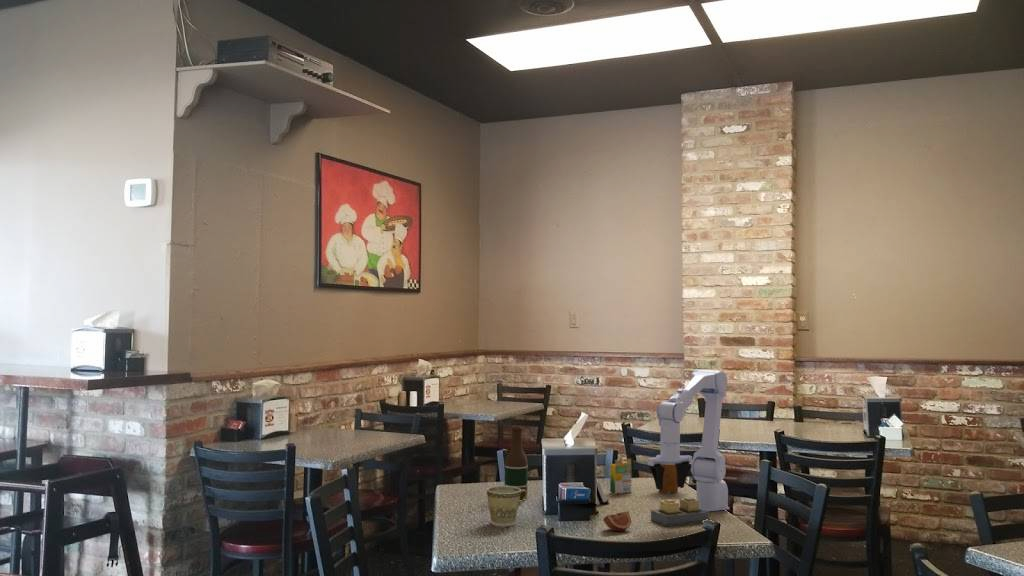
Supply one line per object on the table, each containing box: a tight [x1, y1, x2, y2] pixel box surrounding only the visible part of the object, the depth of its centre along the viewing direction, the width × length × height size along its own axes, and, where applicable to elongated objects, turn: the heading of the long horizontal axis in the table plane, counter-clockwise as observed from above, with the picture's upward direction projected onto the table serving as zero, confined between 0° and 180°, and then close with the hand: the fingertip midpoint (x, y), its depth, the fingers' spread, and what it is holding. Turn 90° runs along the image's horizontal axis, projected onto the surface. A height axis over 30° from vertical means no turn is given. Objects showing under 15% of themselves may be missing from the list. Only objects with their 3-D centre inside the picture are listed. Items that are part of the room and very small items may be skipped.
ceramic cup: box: [486, 485, 528, 528], centre depth 233 cm, size 13×10×10 cm
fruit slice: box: [603, 510, 632, 532], centre depth 226 cm, size 8×7×5 cm
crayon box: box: [609, 458, 632, 495], centre depth 276 cm, size 7×3×12 cm, turn 120°
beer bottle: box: [504, 425, 529, 500], centre depth 264 cm, size 8×8×24 cm
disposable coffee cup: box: [655, 454, 679, 494], centre depth 279 cm, size 10×10×12 cm
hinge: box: [596, 479, 611, 506], centre depth 264 cm, size 17×5×10 cm, turn 21°
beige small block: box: [659, 498, 680, 515], centre depth 236 cm, size 4×4×6 cm
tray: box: [650, 496, 710, 528], centre depth 237 cm, size 15×8×6 cm, turn 114°
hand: (670, 488), depth 237 cm, fingers open, 7 cm apart
